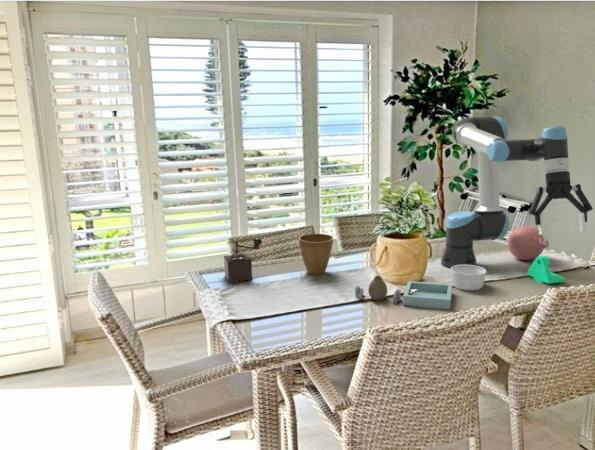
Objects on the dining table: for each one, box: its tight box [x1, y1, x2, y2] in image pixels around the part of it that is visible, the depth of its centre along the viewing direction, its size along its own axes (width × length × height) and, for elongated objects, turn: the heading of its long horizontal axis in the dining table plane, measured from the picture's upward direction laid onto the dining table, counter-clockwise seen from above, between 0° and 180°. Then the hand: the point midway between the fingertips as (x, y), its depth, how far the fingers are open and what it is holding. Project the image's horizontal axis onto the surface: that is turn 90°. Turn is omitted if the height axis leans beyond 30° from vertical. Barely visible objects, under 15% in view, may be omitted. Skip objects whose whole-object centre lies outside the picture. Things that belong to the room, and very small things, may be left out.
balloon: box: [507, 225, 550, 261], centre depth 229 cm, size 15×20×15 cm
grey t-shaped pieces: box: [354, 285, 402, 305], centre depth 191 cm, size 6×17×4 cm, turn 72°
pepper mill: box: [223, 237, 263, 283], centre depth 219 cm, size 16×11×18 cm
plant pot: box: [298, 233, 334, 276], centre depth 222 cm, size 15×15×16 cm
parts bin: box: [402, 280, 453, 310], centre depth 189 cm, size 16×16×4 cm
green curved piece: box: [527, 255, 565, 284], centre depth 204 cm, size 12×8×10 cm, turn 15°
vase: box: [368, 275, 388, 302], centre depth 190 cm, size 7×7×9 cm
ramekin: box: [450, 265, 487, 291], centre depth 201 cm, size 13×13×7 cm
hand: (562, 233), depth 175 cm, fingers open, 13 cm apart
